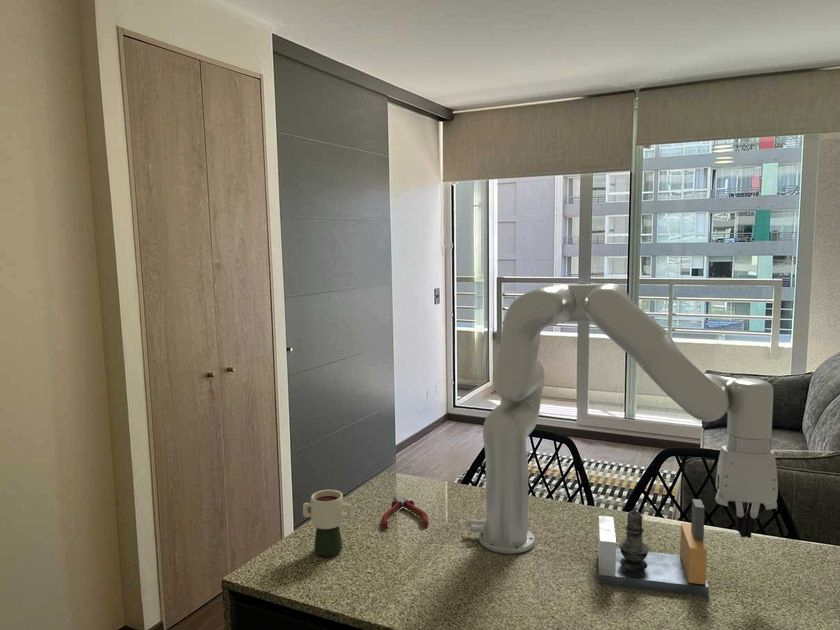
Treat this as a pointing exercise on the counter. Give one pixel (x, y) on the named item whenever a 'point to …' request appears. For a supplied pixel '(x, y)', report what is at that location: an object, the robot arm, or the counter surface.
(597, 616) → the counter surface
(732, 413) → the robot arm
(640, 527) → the dark grey chess piece
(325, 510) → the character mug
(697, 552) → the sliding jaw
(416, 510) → the pliers
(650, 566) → the vise
